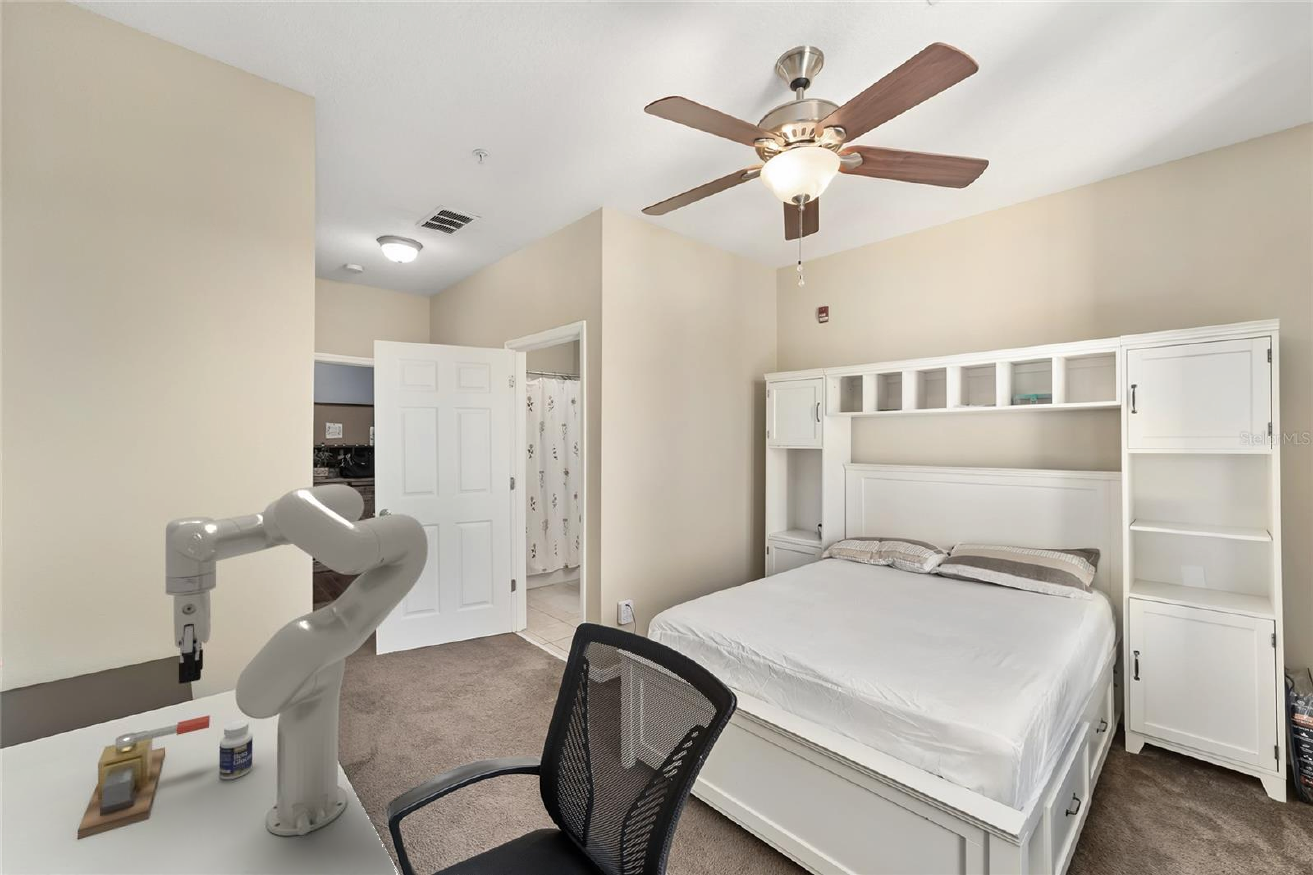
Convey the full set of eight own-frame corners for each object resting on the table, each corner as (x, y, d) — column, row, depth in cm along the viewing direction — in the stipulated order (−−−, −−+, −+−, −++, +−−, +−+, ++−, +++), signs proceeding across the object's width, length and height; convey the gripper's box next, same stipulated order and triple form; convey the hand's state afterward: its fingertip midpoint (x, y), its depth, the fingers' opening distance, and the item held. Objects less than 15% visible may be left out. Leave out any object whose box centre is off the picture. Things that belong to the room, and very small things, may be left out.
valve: (141, 806, 102) (141, 769, 102) (89, 821, 98) (89, 782, 98) (156, 753, 118) (157, 721, 118) (112, 764, 115) (112, 731, 114)
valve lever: (114, 753, 106) (114, 742, 106) (117, 746, 109) (117, 735, 109) (208, 731, 114) (208, 721, 114) (209, 724, 117) (209, 714, 117)
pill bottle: (234, 782, 112) (234, 733, 112) (212, 778, 113) (212, 730, 113) (259, 766, 117) (259, 719, 117) (237, 762, 118) (237, 716, 118)
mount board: (148, 818, 101) (148, 810, 101) (77, 839, 96) (77, 830, 96) (165, 754, 121) (165, 747, 121) (107, 768, 116) (107, 761, 116)
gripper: (213, 590, 104) (213, 688, 104) (218, 570, 118) (217, 657, 118) (159, 596, 100) (159, 699, 100) (170, 575, 113) (170, 665, 114)
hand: (191, 675), depth 109 cm, fingers open, 4 cm apart
